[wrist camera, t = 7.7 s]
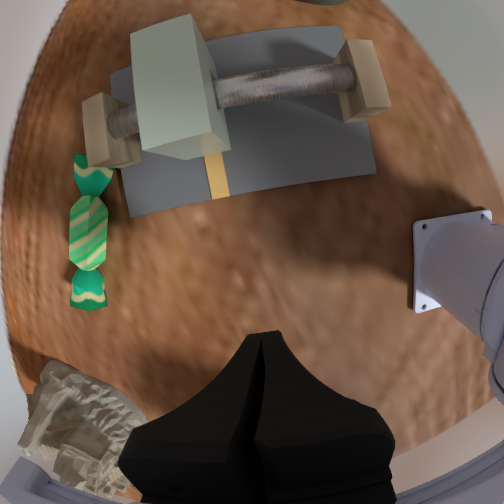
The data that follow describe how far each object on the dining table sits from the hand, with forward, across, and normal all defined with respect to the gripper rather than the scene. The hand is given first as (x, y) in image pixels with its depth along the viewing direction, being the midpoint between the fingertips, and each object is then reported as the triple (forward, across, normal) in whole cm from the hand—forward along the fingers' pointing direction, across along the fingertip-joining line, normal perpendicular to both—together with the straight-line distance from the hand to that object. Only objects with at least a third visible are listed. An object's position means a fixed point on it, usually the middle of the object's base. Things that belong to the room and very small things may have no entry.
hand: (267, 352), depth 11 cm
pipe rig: (+10, 0, -12) cm, 16 cm away
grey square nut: (+8, +2, -12) cm, 15 cm away
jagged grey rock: (+11, +24, +16) cm, 31 cm away
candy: (+11, +13, -6) cm, 18 cm away
